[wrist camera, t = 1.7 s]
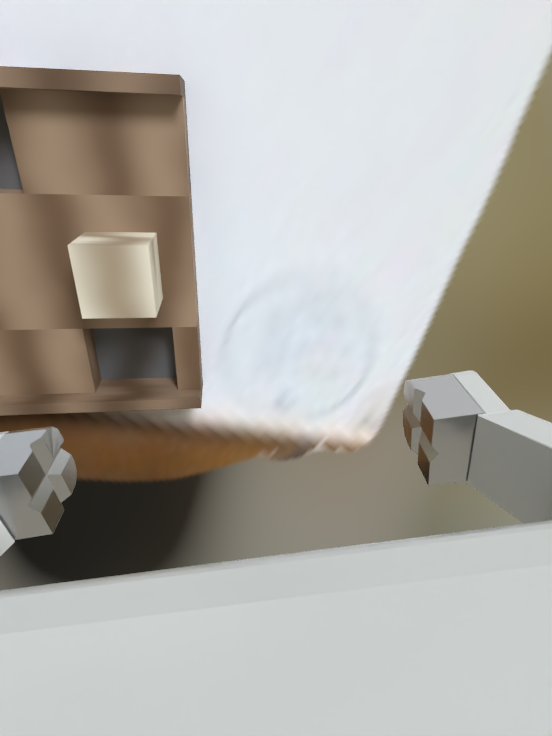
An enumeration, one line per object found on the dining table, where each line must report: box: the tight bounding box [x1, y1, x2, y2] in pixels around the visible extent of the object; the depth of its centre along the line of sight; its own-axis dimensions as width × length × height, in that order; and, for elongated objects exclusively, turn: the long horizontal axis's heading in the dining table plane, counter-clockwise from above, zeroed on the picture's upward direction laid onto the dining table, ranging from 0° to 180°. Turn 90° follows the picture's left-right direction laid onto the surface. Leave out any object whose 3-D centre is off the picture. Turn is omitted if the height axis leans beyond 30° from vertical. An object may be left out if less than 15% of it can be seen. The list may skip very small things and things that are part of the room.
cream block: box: [67, 232, 163, 319], centre depth 31 cm, size 5×5×4 cm
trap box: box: [0, 66, 203, 416], centre depth 32 cm, size 28×24×4 cm
